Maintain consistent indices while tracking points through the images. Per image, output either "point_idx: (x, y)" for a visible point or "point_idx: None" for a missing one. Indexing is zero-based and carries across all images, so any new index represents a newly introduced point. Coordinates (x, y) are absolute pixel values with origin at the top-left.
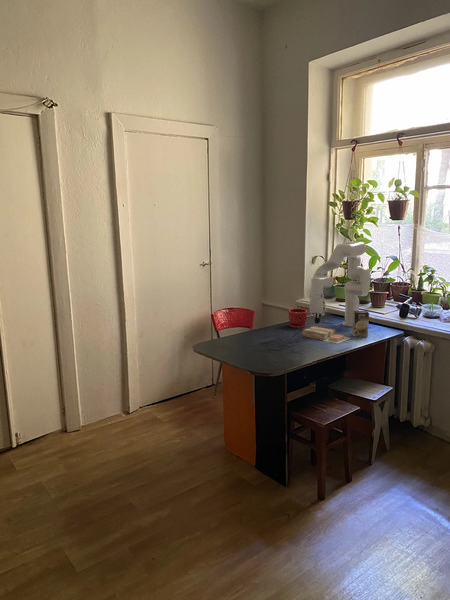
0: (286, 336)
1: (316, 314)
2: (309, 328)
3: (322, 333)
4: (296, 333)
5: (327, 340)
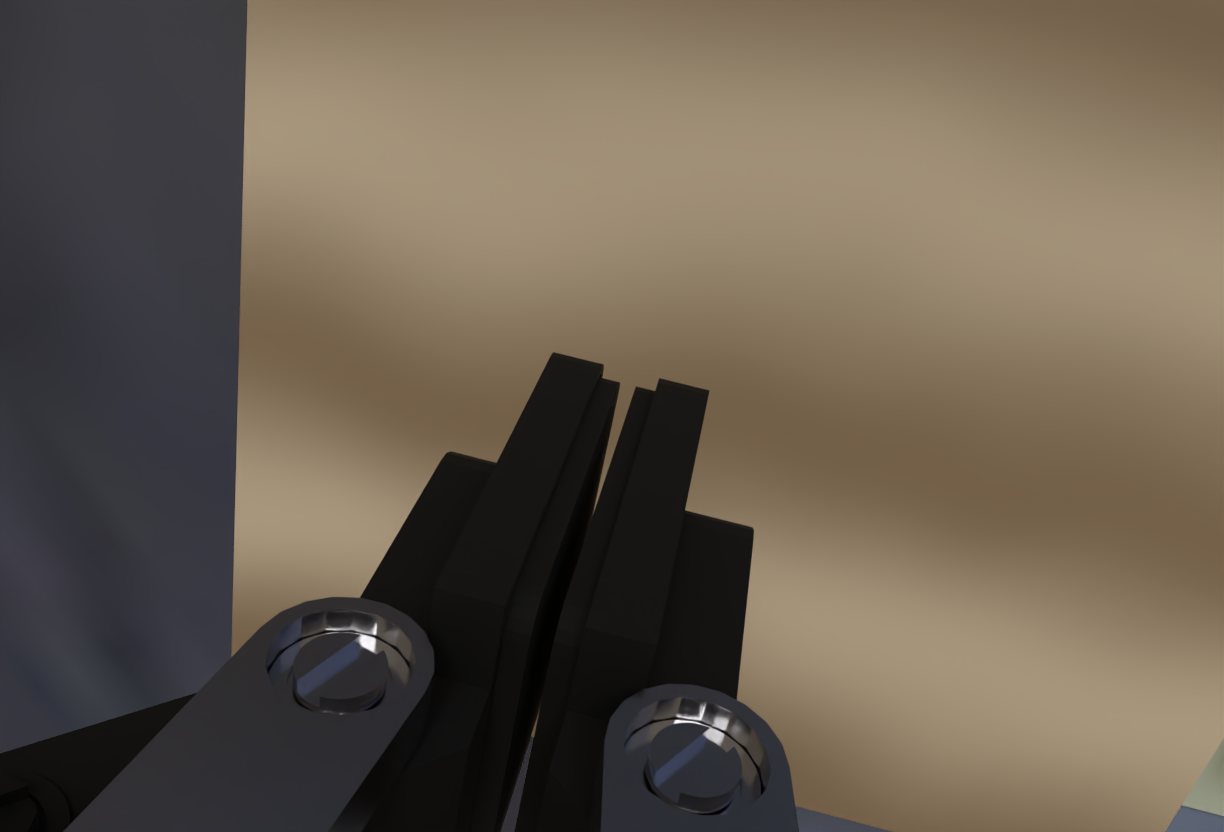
0: (7, 703)
1: (265, 828)
2: (301, 346)
3: (1052, 823)
4: (2, 337)
5: (1213, 758)
